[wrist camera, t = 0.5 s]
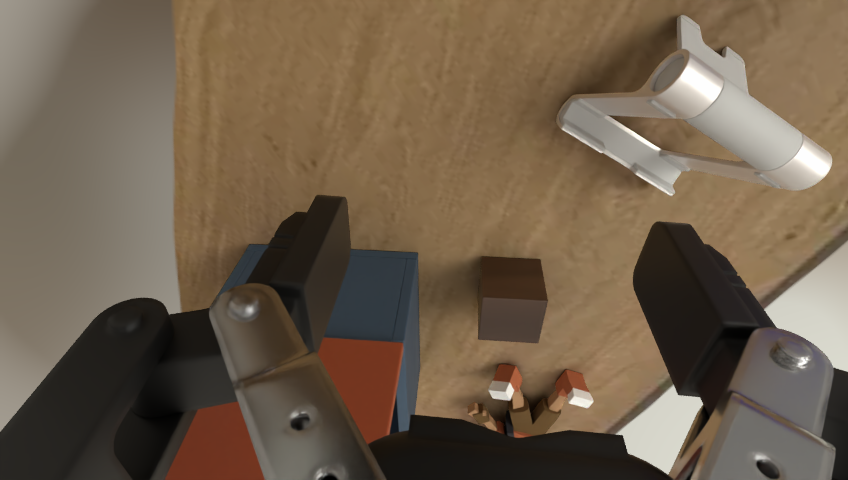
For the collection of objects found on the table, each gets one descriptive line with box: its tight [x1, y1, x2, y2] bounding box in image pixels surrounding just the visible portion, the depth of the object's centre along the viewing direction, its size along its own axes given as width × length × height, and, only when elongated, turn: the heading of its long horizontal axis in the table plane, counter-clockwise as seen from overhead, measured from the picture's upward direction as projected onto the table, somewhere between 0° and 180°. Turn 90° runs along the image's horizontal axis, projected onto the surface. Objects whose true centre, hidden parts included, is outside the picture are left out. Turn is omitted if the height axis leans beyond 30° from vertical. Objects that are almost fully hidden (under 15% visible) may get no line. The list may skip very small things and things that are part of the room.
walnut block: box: [478, 257, 548, 343], centre depth 34 cm, size 4×4×4 cm
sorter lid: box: [165, 337, 403, 480], centre depth 22 cm, size 15×14×1 cm
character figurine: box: [468, 364, 594, 438], centre depth 46 cm, size 12×5×18 cm
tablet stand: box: [556, 15, 832, 196], centre depth 23 cm, size 9×8×8 cm
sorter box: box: [210, 244, 420, 435], centre depth 37 cm, size 15×14×9 cm
